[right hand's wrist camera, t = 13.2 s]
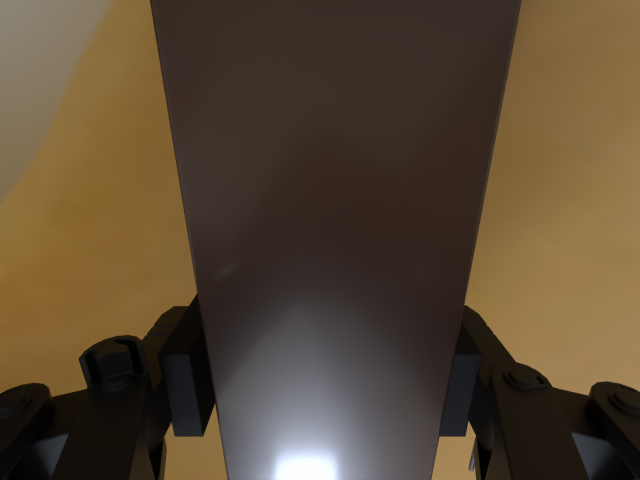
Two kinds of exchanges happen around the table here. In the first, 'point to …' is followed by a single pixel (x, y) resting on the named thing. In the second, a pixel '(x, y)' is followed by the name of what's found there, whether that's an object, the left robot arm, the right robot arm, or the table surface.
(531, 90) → the table surface
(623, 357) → the table surface
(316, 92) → the plank
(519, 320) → the table surface
